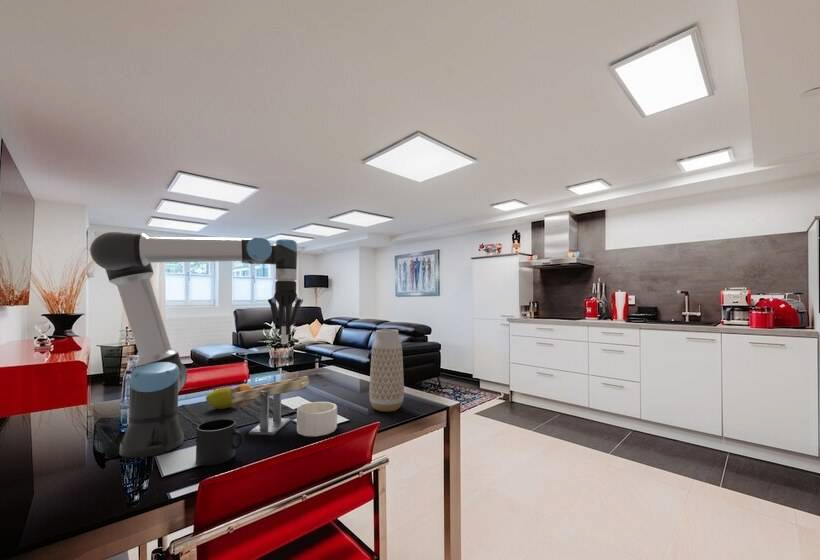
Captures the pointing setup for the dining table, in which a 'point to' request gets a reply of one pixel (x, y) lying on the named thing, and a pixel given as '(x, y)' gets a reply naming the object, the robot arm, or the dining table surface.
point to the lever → (247, 396)
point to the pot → (316, 418)
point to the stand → (268, 424)
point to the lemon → (220, 398)
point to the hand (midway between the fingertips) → (284, 343)
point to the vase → (386, 371)
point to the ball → (244, 387)
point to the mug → (216, 441)
